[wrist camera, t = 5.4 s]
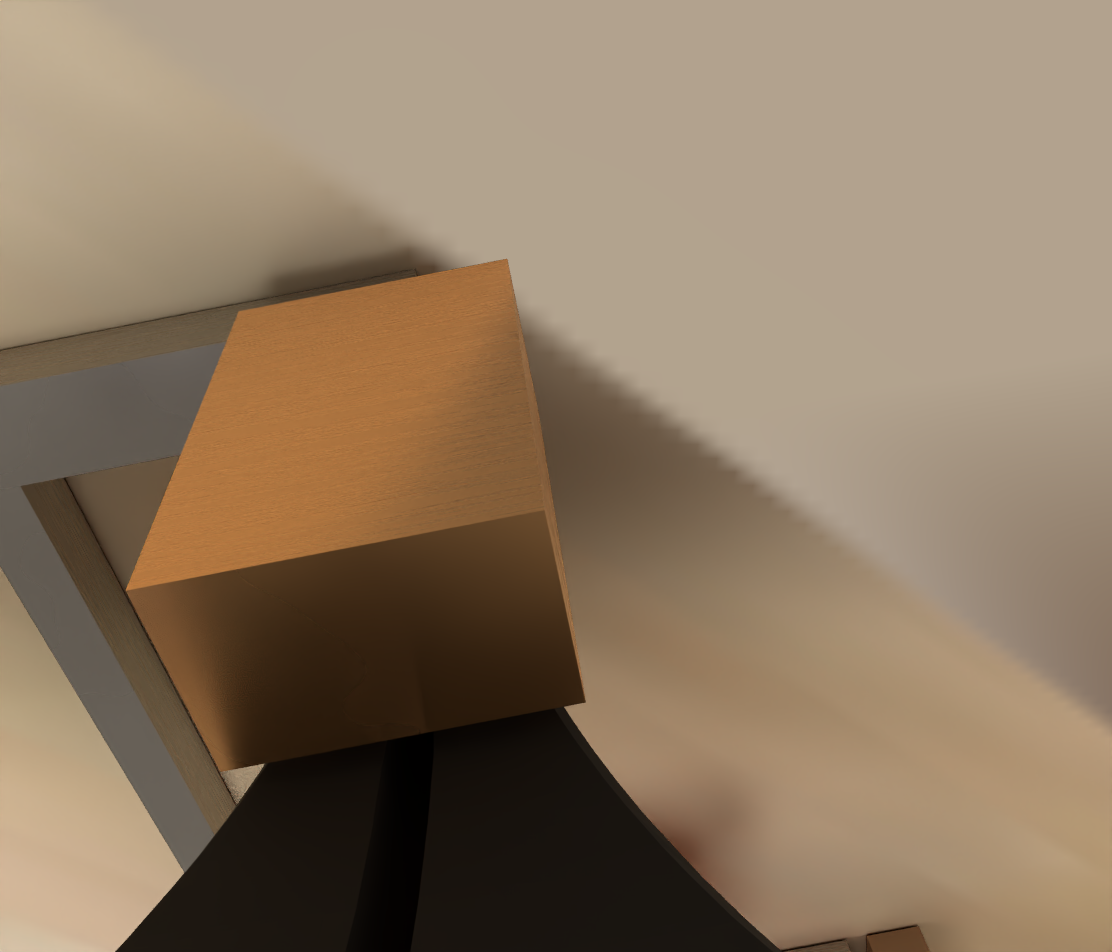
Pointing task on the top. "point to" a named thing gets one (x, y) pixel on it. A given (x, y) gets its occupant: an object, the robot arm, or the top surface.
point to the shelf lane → (898, 941)
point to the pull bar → (294, 530)
